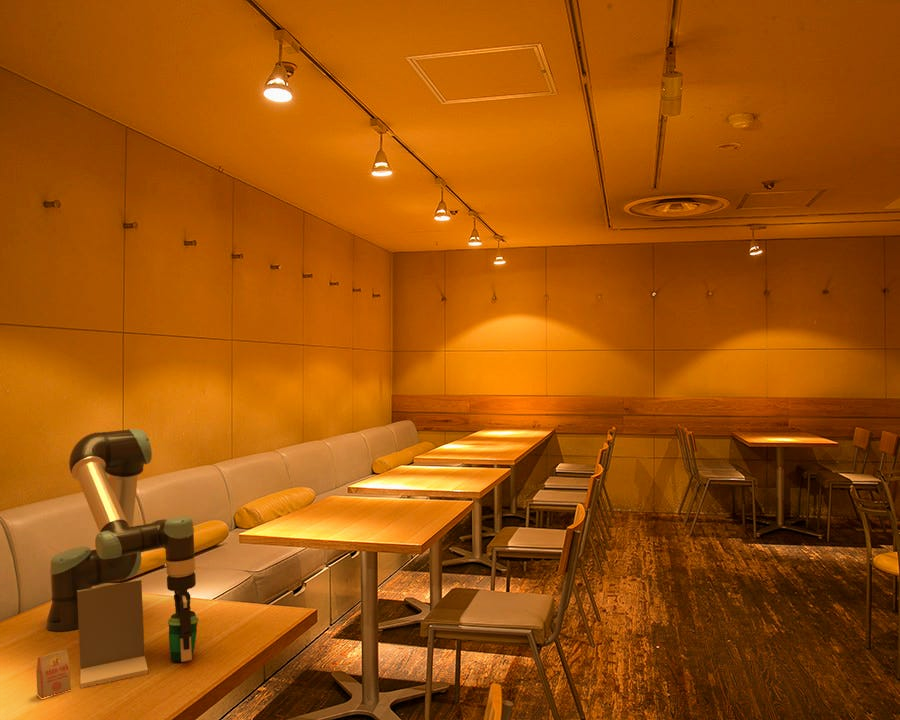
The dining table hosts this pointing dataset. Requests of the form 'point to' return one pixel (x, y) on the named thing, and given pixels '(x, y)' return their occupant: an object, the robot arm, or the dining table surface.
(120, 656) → the stand
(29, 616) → the dining table surface
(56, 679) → the tea bag
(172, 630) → the cup
